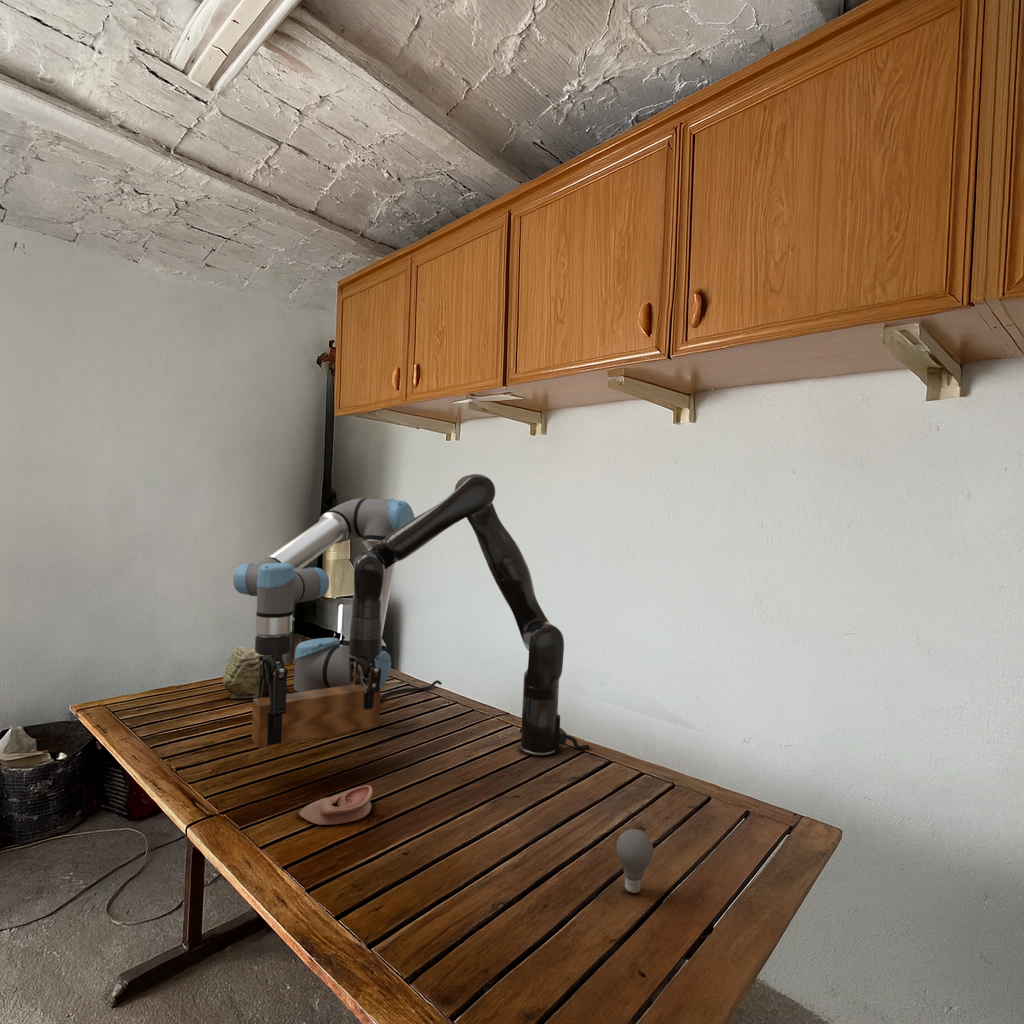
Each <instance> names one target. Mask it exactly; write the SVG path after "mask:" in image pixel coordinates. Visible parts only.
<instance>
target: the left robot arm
mask: <svg viewBox="0 0 1024 1024" xmlns="http://www.w3.org/2000/svg"><path fill="white" fill-rule="evenodd" d="M415 517H416V516H415V513H414V511H413V508H412V507H411V506H410V504H409V503H408V502H406V501H405V500H401V499H399V500H398V499H395V498H389V499H387V498H365V497H358V498H354V499H350V500H347V501H344V502H342V503H340V504H338V505H336V506H334V507H332V508H330V509H329V510H327V511H326V512H324V513H322V515H321V516H320V517H319V520H318V522H316V523H315V524H313V525H311V526H310V527H309V528H307V529H306V530H304V531H303V532H301V533H300V534H298V535H297V536H295V537H294V538H293V539H292V540H290V541H288V542H287V543H285V544H284V545H282V546H281V547H280V548H278V549H277V550H275V551H274V552H272V553H271V554H269V555H268V556H266V557H264V558H263V559H262V560H261V561H259V562H257V563H253V562H252V563H251V562H250V563H243V564H241V565H239V566H237V568H236V570H234V573H233V577H232V581H233V583H232V584H233V587H234V589H235V590H236V591H237V592H238V593H239V594H241V595H246V596H251V597H256V612H255V613H256V614H255V631H254V633H256V636H255V637H254V638H255V639H254V649H255V652H256V653H258V654H260V655H263V656H259V680H258V696H257V697H256V698H262V697H269V698H270V713H267V716H268V738H267V745H274V744H279V743H281V732H282V714H285V713H286V694H287V689H288V688H287V687H288V686H287V684H288V682H287V681H288V673H289V669H288V667H285V661H284V658H283V656H284V655H285V654H289V653H290V652H291V651H292V644H293V643H292V642H293V636H292V634H291V633H292V631H293V623H294V622H295V617H293V615H294V613H293V611H294V605H295V604H298V603H304V602H308V601H315V600H316V599H320V598H322V597H323V596H325V595H326V594H327V593H328V590H329V587H330V579H329V576H328V574H327V572H326V571H325V570H324V569H322V568H320V567H311V566H309V567H306V566H308V565H309V564H310V563H312V562H313V561H314V560H315V559H317V558H318V557H320V556H321V555H322V554H323V553H325V552H326V551H327V550H328V549H330V548H331V547H333V546H334V545H336V544H342V543H345V541H347V540H349V539H355V538H358V539H362V544H363V545H364V547H365V550H366V549H367V548H369V547H371V546H372V545H374V544H376V543H378V542H380V541H381V540H383V539H385V538H386V537H387V536H388V535H390V534H391V533H393V532H394V531H395V530H397V529H398V528H400V527H401V526H402V525H404V524H405V523H407V522H409V521H410V520H412V519H414V518H415ZM395 566H396V563H394V564H393V565H391V566H390V567H388V568H387V569H386V570H384V581H383V589H382V635H384V634H383V633H384V628H385V622H386V618H387V611H388V605H389V601H390V595H391V589H392V584H393V578H394V571H395ZM349 642H350V634H348V635H347V636H346V637H345V638H343V641H342V645H340V644H341V641H340V639H339V638H337V637H321V638H313V639H307V640H304V641H302V642H299V643H298V644H297V645H296V647H295V652H294V653H295V654H294V658H293V660H294V670H293V671H294V672H293V693H297V692H304V691H311V690H318V689H325V688H332V687H339V686H346V685H353V684H352V682H353V681H351V682H350V674H349V657H353V656H351V655H350V654H349ZM386 648H387V645H386V643H385V642H384V639H382V644H381V654H380V655H379V656H376V657H375V664H376V668H381V678H380V686H379V687H380V688H381V689H382V688H383V687H384V686H385V684H386V682H387V681H388V678H389V676H390V673H391V669H392V661H391V660H392V658H391V654H389V653H388V652H387V651H386ZM365 680H369V678H366V679H365ZM437 684H438V685H442V684H443V683H442V681H440V680H438V679H437V680H435V681H433V682H432V683H431V684H430V685H431V686H429V685H427V686H421V687H406V688H405V687H404V688H399V689H395V690H391V691H390V690H389V691H388V692H385V693H381V697H380V701H381V700H382V699H383V698H385V697H387V696H390V695H394V694H398V693H404V692H417V691H418V692H419V691H426V690H429V689H432V688H433V687H434V686H435V685H437ZM375 685H376V683H375ZM279 745H280V744H279ZM274 746H275V745H274Z"/></svg>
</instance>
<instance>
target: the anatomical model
mask: <svg viewBox="0 0 1024 1024" xmlns="http://www.w3.org/2000/svg"><path fill="white" fill-rule="evenodd" d="M372 795H373V787H372V786H371V785H369V784H367V785H366V784H365V785H361V786H356V787H354V788H351V789H350V788H349V789H347V790H345V791H341V792H340V793H337V794H334V795H332V796H329V797H328V796H327V797H323V798H320V799H317V800H315V801H313V802H311V803H309V804H307V805H306V806H304V807H303V808H301V809H300V810H299V812H298V815H299V817H300V818H302V819H304V820H306V821H307V822H310V823H311V824H315V825H319V826H328V825H339V824H346V823H351V822H354V821H357V820H361V819H363V818H365V817H366V816H367V815H368V814H369V813H370V812H371V809H372V803H371V798H372V797H373V796H372Z"/></svg>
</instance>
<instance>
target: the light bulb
mask: <svg viewBox="0 0 1024 1024" xmlns="http://www.w3.org/2000/svg"><path fill="white" fill-rule="evenodd" d="M615 849H616V854H617V857H618V859H619V861H620V863H621V865H622V867H623V873H624V874H623V875H624V876H625V878H624V888H625V890H627V891H628V892H630V893H634V894H635V893H639V892H640V891H641V889H642V887H641V886H642V879H643V877H644V875H645V871H646V868H647V867H648V866H649V864H650V863H651V861H652V859H653V855H654V847H653V843H652V841H651V838H649V836H648V835H647V834H646V833H645V832H643V831H642V830H641V829H636V828H629V829H627V830H625V831H623V832H622V833H621V834H620V835H619V837H618V839H617V841H616V847H615Z"/></svg>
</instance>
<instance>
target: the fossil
mask: <svg viewBox="0 0 1024 1024" xmlns="http://www.w3.org/2000/svg"><path fill="white" fill-rule="evenodd" d="M259 656H263V655H260V654H258V653H256V652H255V648H251V647H247V646H246V647H245V646H238V647H237V648H236V649H235V650H233V651H232V653H231V656H230V657H229V659H228V660H227V663H226V666H225V668H224V671H223V675H222V676H223V677H222V685H223V687H224V688H225V690H226V691H228V693H229V698H230V699H250V698H257V696H258V680H259Z"/></svg>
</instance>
